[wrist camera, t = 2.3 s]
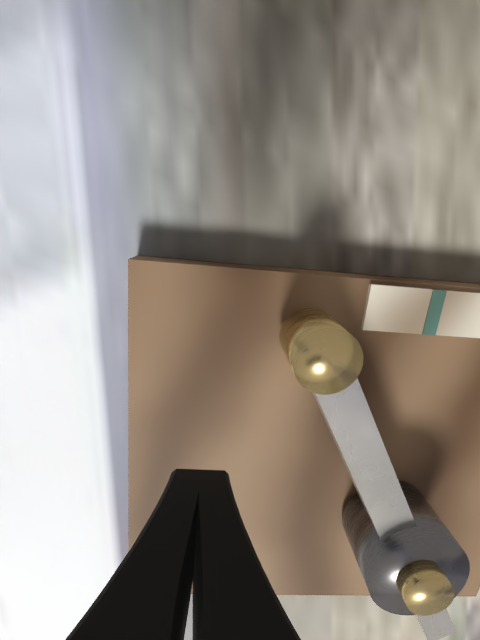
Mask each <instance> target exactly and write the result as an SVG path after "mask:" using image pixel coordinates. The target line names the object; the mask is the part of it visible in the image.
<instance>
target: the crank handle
mask: <svg viewBox="0 0 480 640" xmlns="http://www.w3.org/2000/svg"><path fill="white" fill-rule="evenodd" d="M279 340H280V345H281V348H282V350H283V352H284V354H285V356H286V358H287V360H288V362H289V364H290V366H291V368H292V370H293V373H294V375H295V377H296V379H297V380H298V382H299V383H300V384H301V385H302V386H303V387H304V388H305V389H307V390H308V391H310V392H313V395H314V397H315V399H316V401H317V404H318V406H319V408H320V410H321V412H322V415H323V417H324V419H325V421H326V424H327V426H328V428H329V430H330V432H331V435H332V437H333V439H334V441H335V444H336V446H337V448H338V450H339V452H340V455H341V457H342V459H343V461H344V464H345V466H346V468H347V470H348V472H349V475H350V477H351V479H352V481H353V484H354V486H355V488H356V490H357V493H356V494H355V495H354V496H353V497H352V498H351V499H350V500H349V502H348V503H347V505H346V507H345V509H344V512H343V517H342V524H343V528H344V531H345V533H346V536H347V538H348V541H349V543H350V546H351V548H352V551H353V553H354V556H355V558H356V561H357V563H358V566H359V568H360V571H361V573H362V576H363V578H364V581H365V583H366V586H367V588H368V591H369V593H370V596H371V598H372V599H373V601H374V602H375V603H376V604H377V605H378V606H379V607H380V608H382V609H384V610H386V611H388V612H390V613H394V614H399V615H415V616H416V618H417V620H418V622H419V624H420V626H421V628H422V630H423V632H424V634H425V636H426V638H427V640H437V639H440V638H442V637H445V636H448V635H450V634H453V633H456V631H455V629H454V626H453V624H452V621H451V619H450V616H449V614H448V611H447V609H446V608H447V607H448V606H449V605H450V604H451V602H452V601H453V599H454V598H455V597H456V596H457V595H458V594H459V592H460V591H461V590H462V589H463V587H464V585H465V584H466V582H467V579H468V577H469V572H470V563H469V559H468V557H467V554H466V553H465V552H464V550H463V549H462V547H461V546H460V545H459V543H458V542H457V541H456V539H455V538H454V537H453V535H452V534H451V533H450V531H449V530H448V529H447V527H446V526H445V524H444V523H443V522H442V520H441V519H440V518H439V516H438V515H437V514H436V512H435V511H434V510H433V508H432V507H431V506H430V504H429V503H428V501H427V500H426V499H425V497H424V496H423V495H422V493H421V492H420V491H419V490H418V489H417V488H416V487H414V486H413V485H411V484H409V483H407V482H404V481H399V480H398V478H397V476H396V473H395V471H394V468H393V466H392V463H391V461H390V458H389V456H388V453H387V451H386V448H385V446H384V443H383V441H382V438H381V436H380V433H379V431H378V428H377V426H376V423H375V421H374V418H373V416H372V413H371V411H370V408H369V406H368V403H367V401H366V398H365V396H364V393H363V391H362V388H361V386H360V383H359V381H358V378H357V377H358V376H359V374H360V372H361V370H362V366H363V351H362V348H361V346H360V344H359V342H358V341H357V340H356V338H355V337H353V336H352V335H351V334H350V333H349V332H348V331H347V330H345V329H344V328H343V327H342V326H341V325H340V324H338V323H337V322H336V321H335V320H334V319H333V318H331V317H330V316H329V315H328V314H327V313H325V312H324V311H322V310H319V309H316V308H304V309H300V310H298V311H296V312H294V313H292V314H291V315H290V316H289V317H288V318H287V319H286V320H285V321H284V323H283V325H282V327H281V330H280V334H279Z"/></svg>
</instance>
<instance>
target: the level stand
mask: <svg viewBox="0 0 480 640" xmlns="http://www.w3.org/2000/svg"><path fill="white" fill-rule="evenodd" d="M304 308H316V309H319V310H322V311H324V312H325V313H327V314H328V315H329V316H330V317H331V318H333V319H334V320H335V321H336V322H337V323H338V324H340V325H341V326H342V327H343V328H344V329H345V330H347V331H348V332H349V333H350V334H351V335H352V336H353V337H355V338H356V340H357V341H358V342H359V344H360V346H361V348H362V351H363V366H362V370H361V372H360V374H359V376H358V377H357V378H358V381H359V383H360V386H361V388H362V391H363V393H364V396H365V398H366V401H367V403H368V406H369V408H370V411H371V413H372V416H373V418H374V421H375V423H376V426H377V428H378V431H379V433H380V436H381V438H382V441H383V443H384V446H385V448H386V451H387V453H388V456H389V458H390V461H391V463H392V466H393V468H394V471H395V473H396V476H397V478H398V480H399V481H404V482H407V483H409V484H411V485H413V486H414V487H416V488H417V489H418V490H419V491H420V492H421V493H422V495H423V496H424V497H425V499H426V500H427V501H428V503H429V504H430V506H431V507H432V508H433V510H434V511H435V512H436V514H437V515H438V516H439V518H440V519H441V520H442V522H443V523H444V524H445V526H446V527H447V529H448V530H449V531H450V533H451V534H452V535H453V537H454V538H455V539H456V541H457V542H458V543H459V545H460V546H461V547H462V549H463V550H464V552H465V553H466V554H467V557H468V559H469V563H470V572H469V577H468V579H467V582H466V584H465V585H464V587H463V589H462V590H461V591H460V592H459V594H458V595H457V596H476V595H477V592H478V590H479V587H480V284H474V283H461V282H449V281H437V280H425V279H413V278H401V277H389V276H377V275H365V274H353V273H341V272H328V271H316V270H304V269H292V268H280V267H268V266H256V265H244V264H232V263H220V262H207V261H195V260H183V259H171V258H159V257H147V256H135V257H133V258H130V259H128V381H129V551H130V549H131V547H132V546H133V544H134V543H135V541H136V539H137V538H138V536H139V534H140V533H141V531H142V529H143V528H144V526H145V524H146V523H147V521H148V519H149V518H150V516H151V514H152V512H153V511H154V509H155V507H156V505H157V503H158V501H159V499H160V497H161V495H162V494H163V491H164V489H165V487H166V485H167V483H168V481H169V478H170V475H171V473H172V472H173V471H174V470H175V469H200V470H225V471H226V472H227V473H228V474H229V479H230V483H231V487H232V491H233V494H234V498H235V501H236V504H237V507H238V509H239V512H240V515H241V518H242V520H243V523H244V526H245V528H246V531H247V533H248V535H249V538H250V540H251V542H252V545H253V547H254V550H255V552H256V554H257V556H258V558H259V561H260V563H261V565H262V567H263V569H264V571H265V573H266V575H267V577H268V580H269V582H270V584H271V586H272V588H273V590H274V592H275V594H276V595H370V593H369V591H368V588H367V586H366V583H365V581H364V578H363V576H362V573H361V571H360V568H359V566H358V563H357V561H356V558H355V556H354V553H353V551H352V548H351V546H350V543H349V541H348V538H347V536H346V533H345V531H344V528H343V524H342V517H343V512H344V509H345V507H346V505H347V503H348V502H349V500H350V499H351V498H352V497H353V496H354V495H355V494H356V493H357V490H356V488H355V486H354V484H353V481H352V479H351V477H350V475H349V472H348V470H347V468H346V466H345V464H344V461H343V459H342V457H341V455H340V452H339V450H338V448H337V446H336V444H335V441H334V439H333V437H332V435H331V432H330V430H329V428H328V426H327V424H326V421H325V419H324V417H323V415H322V412H321V410H320V408H319V406H318V404H317V401H316V399H315V397H314V395H313V392H310V391H308V390H307V389H305V388H304V387H303V386H302V385H301V384H300V383H299V382H298V380H297V379H296V377H295V375H294V373H293V370H292V368H291V366H290V364H289V362H288V360H287V358H286V356H285V354H284V352H283V350H282V348H281V345H280V340H279V334H280V330H281V327H282V325H283V323H284V321H285V320H286V319H287V318H288V317H289V316H290V315H291V314H292V313H294V312H296V311H298V310H300V309H304ZM191 594H193V582H192V589H191Z"/></svg>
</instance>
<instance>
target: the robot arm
mask: <svg viewBox="0 0 480 640" xmlns="http://www.w3.org/2000/svg"><path fill="white" fill-rule="evenodd" d="M192 582H193V640H301V639H300V638H299V636H298V634H297V632H296V631H295V629H294V627H293V625H292V624H291V622H290V620H289V618H288V616H287V615H286V613H285V611H284V609H283V607H282V605H281V603H280V601H279V599H278V598H277V596H276V594H275V592H274V590H273V588H272V586H271V584H270V582H269V580H268V577H267V575H266V573H265V571H264V569H263V567H262V565H261V563H260V561H259V558H258V556H257V554H256V552H255V550H254V547H253V545H252V542H251V540H250V538H249V535H248V533H247V531H246V528H245V526H244V523H243V520H242V518H241V515H240V512H239V509H238V507H237V504H236V501H235V498H234V494H233V491H232V487H231V483H230V479H229V474H228V473H227V472H226V471H225V470H200V469H175V470H174V471H173V472H172V473H171V475H170V478H169V481H168V483H167V485H166V487H165V489H164V491H163V494H162V495H161V497H160V499H159V501H158V503H157V505H156V507H155V509H154V511H153V512H152V514H151V516H150V518H149V519H148V521H147V523H146V524H145V526H144V528H143V529H142V531H141V533H140V534H139V536H138V538H137V539H136V541H135V543H134V544H133V546H132V547H131V549H130V551H129V552H128V554H127V555H126V556H125V558H124V559H123V561H122V562H121V564H120V565H119V567H118V568H117V570H116V571H115V573H114V574H113V576H112V577H111V579H110V580H109V582H108V583H107V585H106V586H105V588H104V589H103V590H102V592H101V593H100V595H99V596H98V597H97V599H96V600H95V601H94V603H93V604H92V606H91V607H90V608H89V610H88V611H87V612H86V614H85V615H84V616H83V618H82V619H81V620H80V622H79V623H78V624H77V625H76V627H75V628H74V629H73V631H72V632H71V633H70V635H69V636H68V637H67V638H66V640H184V634H185V627H186V621H187V615H188V608H189V602H190V595H191V589H192Z"/></svg>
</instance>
